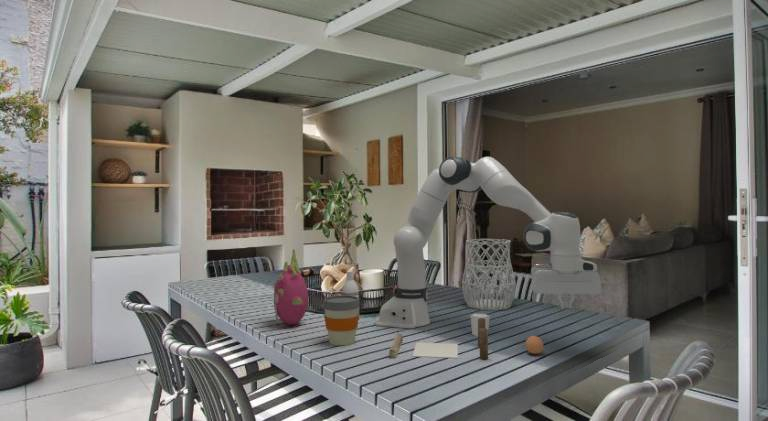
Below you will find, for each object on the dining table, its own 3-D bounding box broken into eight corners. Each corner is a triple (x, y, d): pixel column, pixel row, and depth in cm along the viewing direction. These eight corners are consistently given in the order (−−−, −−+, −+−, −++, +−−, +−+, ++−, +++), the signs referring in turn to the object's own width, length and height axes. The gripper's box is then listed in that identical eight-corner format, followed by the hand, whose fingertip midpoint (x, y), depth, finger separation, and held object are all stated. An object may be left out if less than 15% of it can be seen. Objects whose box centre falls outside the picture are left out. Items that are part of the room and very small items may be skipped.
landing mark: (412, 356, 149) (412, 355, 149) (416, 343, 163) (416, 342, 163) (457, 358, 147) (457, 357, 147) (457, 344, 160) (457, 343, 160)
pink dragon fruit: (268, 321, 194) (267, 248, 194) (300, 317, 201) (299, 246, 200) (280, 332, 179) (278, 252, 178) (314, 327, 185) (313, 250, 184)
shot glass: (478, 338, 167) (478, 318, 167) (466, 333, 174) (466, 314, 173) (493, 335, 171) (493, 316, 170) (481, 330, 177) (481, 312, 177)
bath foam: (340, 318, 199) (339, 270, 198) (355, 316, 202) (355, 269, 201) (345, 321, 192) (344, 272, 192) (361, 320, 195) (360, 271, 195)
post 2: (479, 359, 145) (479, 330, 145) (479, 356, 148) (479, 328, 147) (488, 359, 145) (487, 330, 144) (487, 357, 147) (487, 328, 147)
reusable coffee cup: (341, 334, 175) (341, 293, 174) (367, 340, 167) (366, 298, 166) (316, 342, 165) (315, 299, 165) (342, 349, 157) (341, 304, 157)
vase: (452, 303, 224) (451, 239, 224) (493, 297, 235) (492, 237, 234) (483, 313, 202) (482, 243, 202) (527, 307, 213) (526, 240, 212)
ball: (526, 356, 148) (526, 338, 147) (524, 350, 153) (524, 333, 153) (545, 356, 147) (544, 339, 147) (542, 351, 152) (541, 334, 152)
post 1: (478, 346, 157) (478, 320, 157) (477, 344, 160) (477, 318, 160) (485, 347, 157) (485, 320, 157) (485, 344, 160) (485, 318, 159)
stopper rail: (389, 357, 148) (389, 349, 148) (397, 340, 166) (396, 333, 166) (395, 358, 148) (395, 350, 148) (402, 340, 165) (402, 333, 165)
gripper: (532, 265, 146) (533, 309, 146) (602, 265, 143) (603, 310, 143) (529, 262, 152) (529, 305, 153) (596, 262, 149) (597, 306, 150)
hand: (565, 308), depth 148 cm, fingers closed
